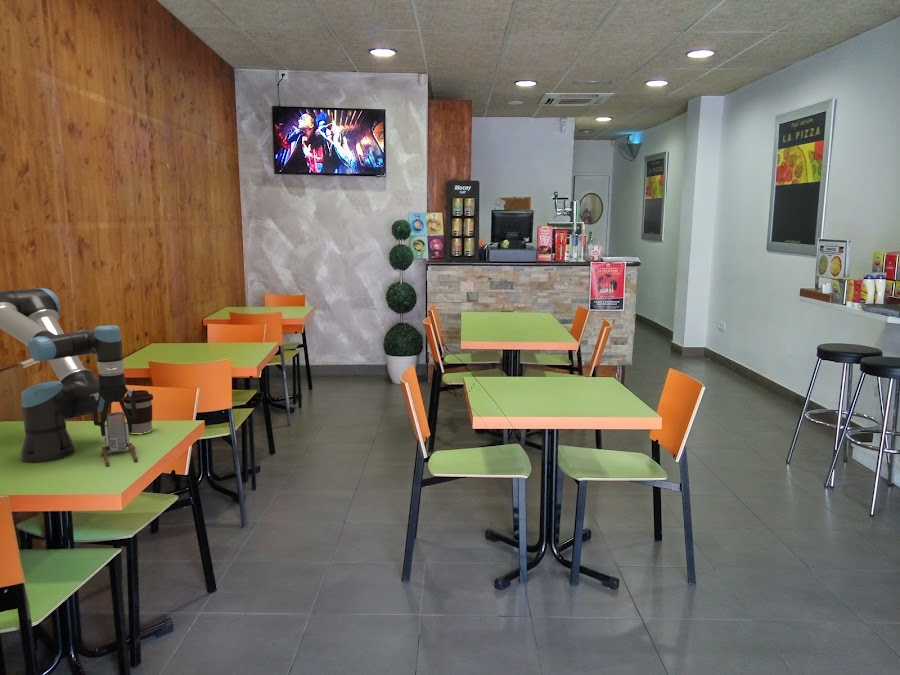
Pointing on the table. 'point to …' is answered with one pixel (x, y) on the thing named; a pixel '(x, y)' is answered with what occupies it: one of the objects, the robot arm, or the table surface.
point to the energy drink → (116, 432)
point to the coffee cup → (140, 411)
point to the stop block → (108, 446)
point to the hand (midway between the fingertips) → (117, 443)
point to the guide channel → (131, 449)
